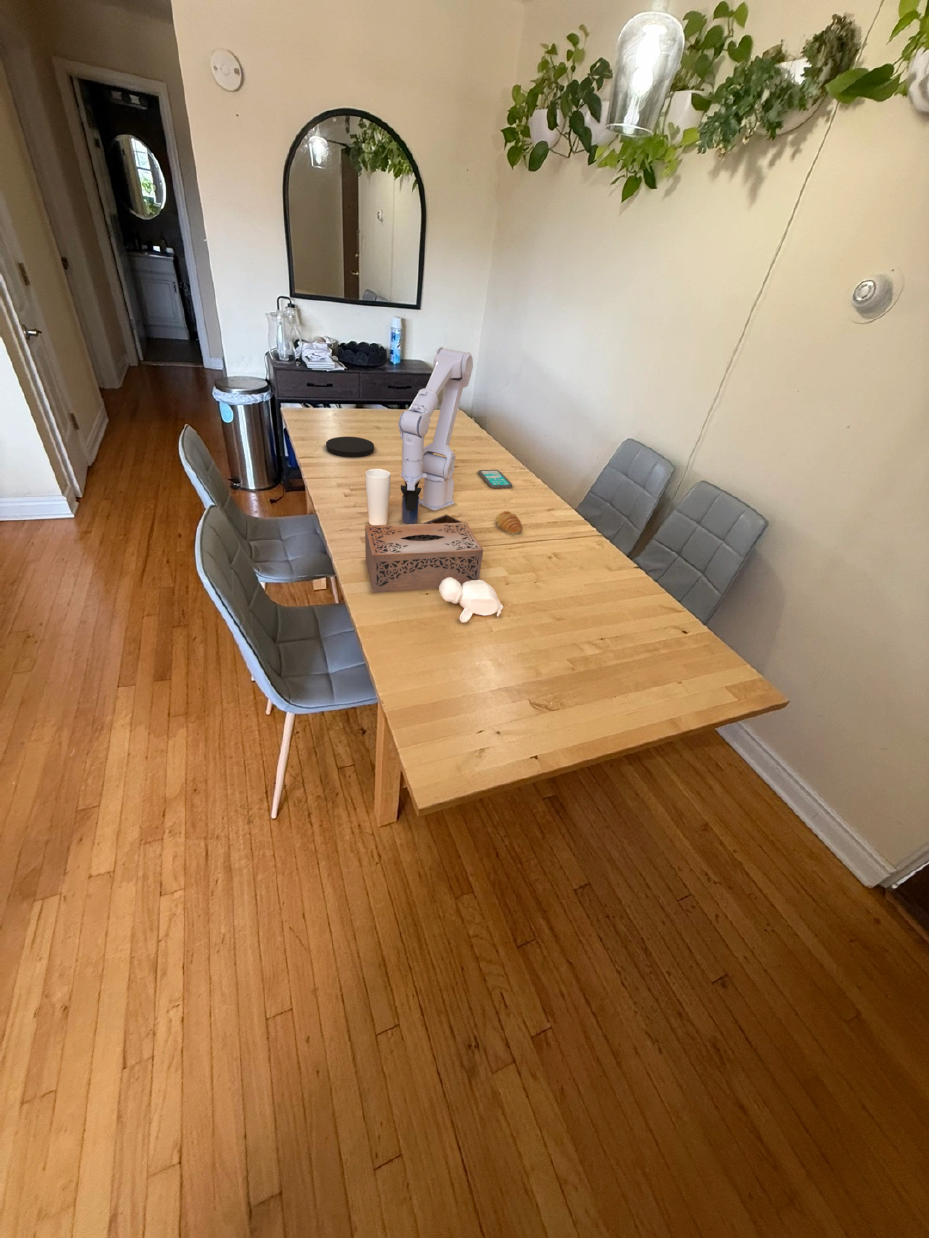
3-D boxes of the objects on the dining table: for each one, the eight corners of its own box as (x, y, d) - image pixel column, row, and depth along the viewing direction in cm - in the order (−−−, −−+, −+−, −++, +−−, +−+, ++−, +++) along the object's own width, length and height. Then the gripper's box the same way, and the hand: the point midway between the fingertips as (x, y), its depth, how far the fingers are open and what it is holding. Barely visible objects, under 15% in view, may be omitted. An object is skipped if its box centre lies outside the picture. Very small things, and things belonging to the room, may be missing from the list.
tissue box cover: (372, 592, 118) (372, 555, 112) (365, 561, 129) (365, 525, 123) (478, 585, 125) (483, 550, 119) (462, 556, 136) (466, 522, 130)
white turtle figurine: (482, 609, 123) (427, 594, 115) (499, 580, 119) (443, 563, 112) (493, 630, 116) (435, 616, 109) (511, 601, 112) (453, 584, 105)
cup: (410, 517, 152) (411, 492, 147) (421, 523, 150) (423, 497, 145) (398, 521, 149) (398, 496, 144) (409, 527, 146) (410, 502, 142)
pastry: (526, 534, 151) (529, 522, 148) (507, 537, 148) (509, 525, 146) (511, 520, 157) (513, 509, 155) (492, 523, 155) (493, 511, 152)
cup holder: (409, 536, 142) (409, 528, 141) (445, 522, 152) (446, 514, 150) (428, 547, 138) (429, 538, 137) (465, 531, 148) (466, 524, 146)
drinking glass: (385, 530, 144) (385, 479, 135) (362, 526, 144) (361, 475, 135) (392, 520, 149) (393, 471, 140) (370, 516, 150) (370, 467, 141)
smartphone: (498, 469, 189) (513, 484, 178) (498, 471, 190) (513, 487, 179) (477, 469, 187) (490, 485, 176) (476, 472, 187) (490, 488, 176)
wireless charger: (350, 438, 203) (350, 433, 202) (383, 451, 196) (383, 445, 195) (316, 447, 191) (315, 442, 190) (349, 461, 184) (349, 455, 183)
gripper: (427, 468, 132) (424, 516, 140) (427, 450, 144) (425, 495, 152) (399, 466, 132) (398, 514, 140) (402, 448, 143) (401, 493, 151)
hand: (410, 504), depth 146 cm, fingers open, 7 cm apart
